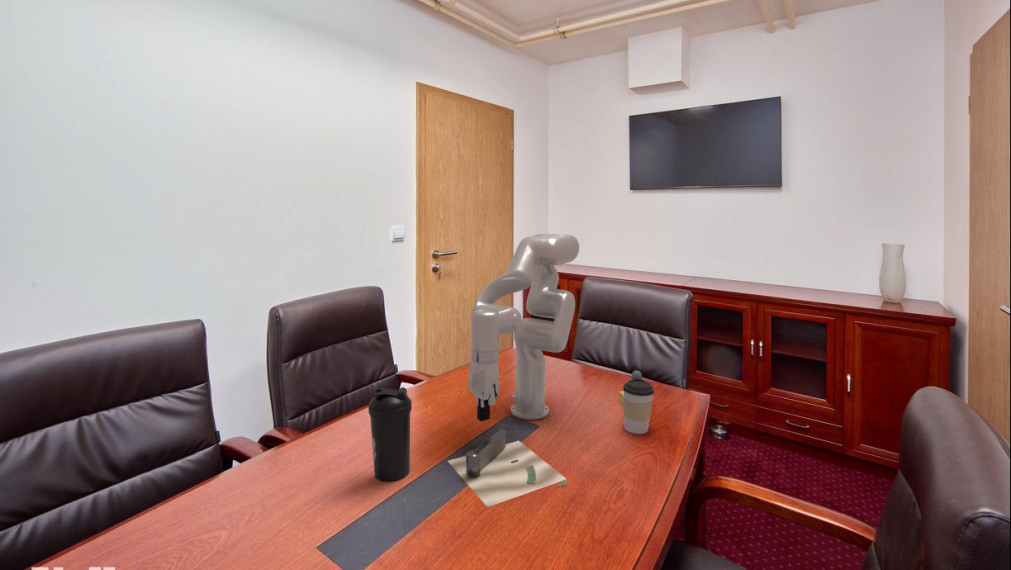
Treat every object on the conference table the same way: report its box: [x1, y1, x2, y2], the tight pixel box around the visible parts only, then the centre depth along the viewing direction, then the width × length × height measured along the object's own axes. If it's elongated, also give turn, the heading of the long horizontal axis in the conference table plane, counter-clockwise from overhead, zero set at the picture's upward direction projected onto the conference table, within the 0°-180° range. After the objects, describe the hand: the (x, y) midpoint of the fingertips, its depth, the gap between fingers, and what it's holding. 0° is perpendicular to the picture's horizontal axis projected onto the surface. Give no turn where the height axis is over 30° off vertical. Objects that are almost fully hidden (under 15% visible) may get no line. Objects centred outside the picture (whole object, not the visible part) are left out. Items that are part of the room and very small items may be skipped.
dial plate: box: [447, 440, 568, 508], centre depth 119 cm, size 22×22×2 cm
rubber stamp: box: [618, 370, 653, 407], centre depth 163 cm, size 10×6×12 cm, turn 100°
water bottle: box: [367, 386, 413, 483], centre depth 116 cm, size 10×10×23 cm
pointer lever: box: [465, 428, 507, 477], centre depth 122 cm, size 17×4×5 cm, turn 150°
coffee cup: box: [622, 378, 655, 435], centre depth 144 cm, size 9×9×15 cm
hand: (483, 419), depth 130 cm, fingers closed
